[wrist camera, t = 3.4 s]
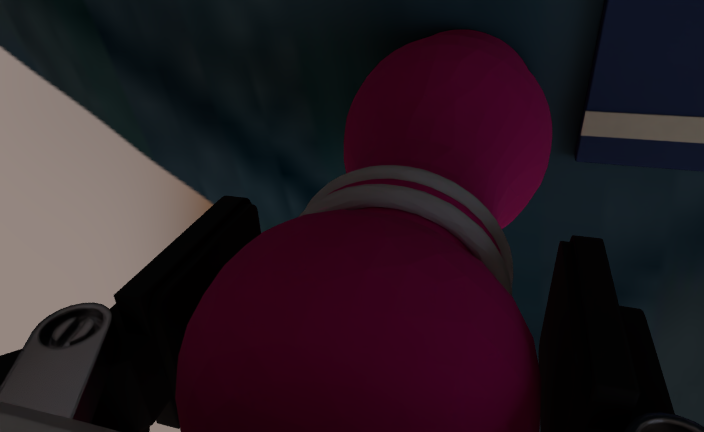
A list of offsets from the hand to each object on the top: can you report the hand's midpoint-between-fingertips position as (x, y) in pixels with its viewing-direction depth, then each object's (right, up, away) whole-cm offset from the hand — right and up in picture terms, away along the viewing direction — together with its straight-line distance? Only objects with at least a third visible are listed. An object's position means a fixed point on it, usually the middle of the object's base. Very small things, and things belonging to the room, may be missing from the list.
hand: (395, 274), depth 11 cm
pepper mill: (+4, +6, +11) cm, 13 cm away
